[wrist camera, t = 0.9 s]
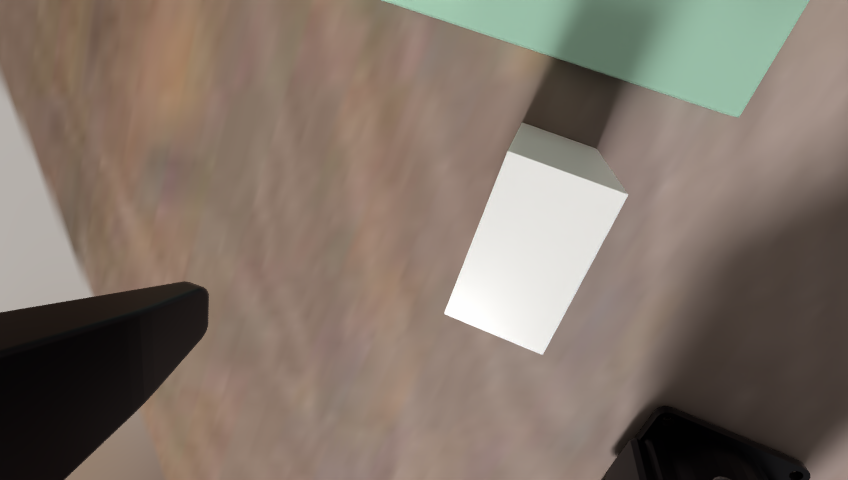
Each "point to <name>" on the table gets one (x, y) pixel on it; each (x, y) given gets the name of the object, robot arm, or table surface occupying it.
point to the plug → (536, 238)
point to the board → (642, 39)
